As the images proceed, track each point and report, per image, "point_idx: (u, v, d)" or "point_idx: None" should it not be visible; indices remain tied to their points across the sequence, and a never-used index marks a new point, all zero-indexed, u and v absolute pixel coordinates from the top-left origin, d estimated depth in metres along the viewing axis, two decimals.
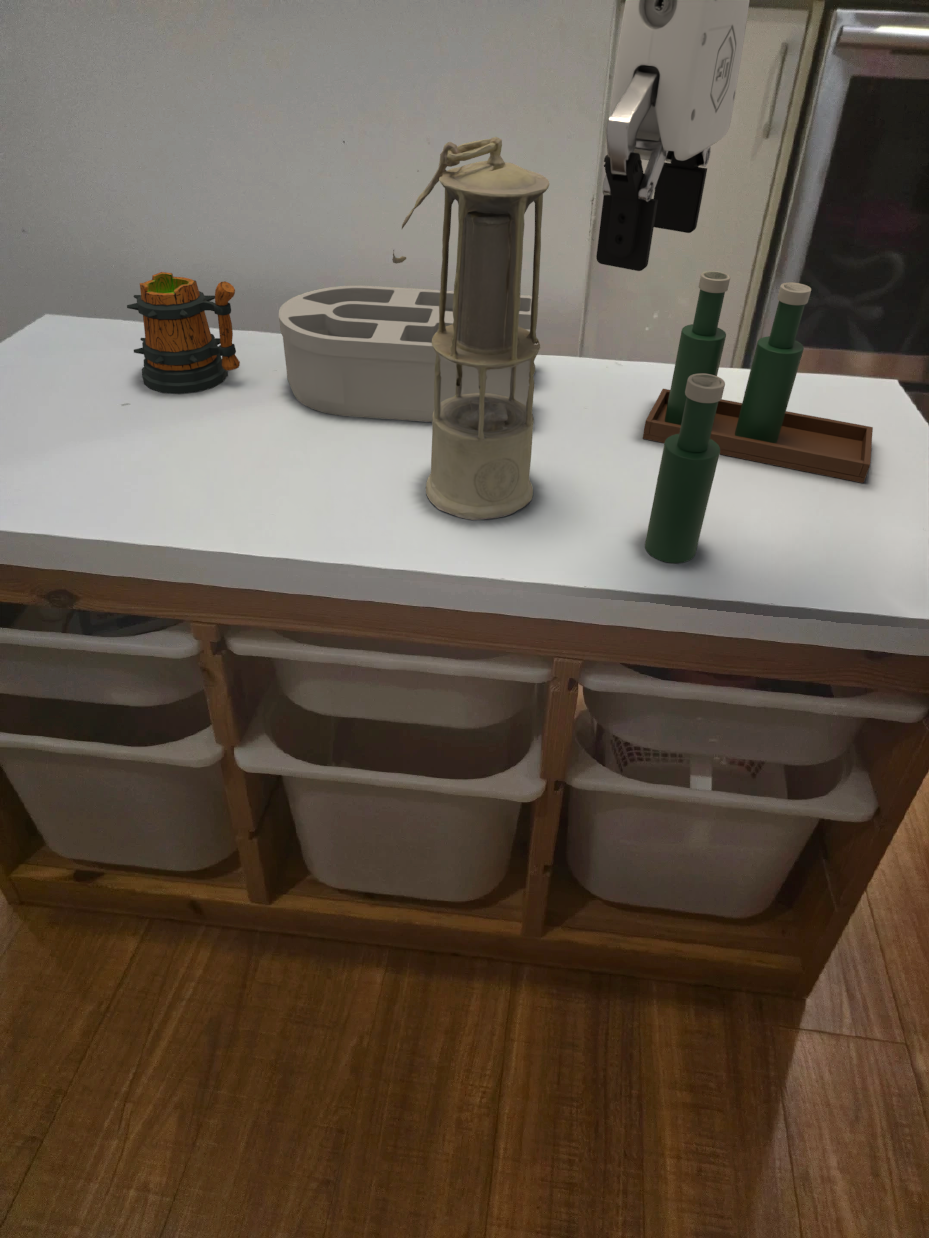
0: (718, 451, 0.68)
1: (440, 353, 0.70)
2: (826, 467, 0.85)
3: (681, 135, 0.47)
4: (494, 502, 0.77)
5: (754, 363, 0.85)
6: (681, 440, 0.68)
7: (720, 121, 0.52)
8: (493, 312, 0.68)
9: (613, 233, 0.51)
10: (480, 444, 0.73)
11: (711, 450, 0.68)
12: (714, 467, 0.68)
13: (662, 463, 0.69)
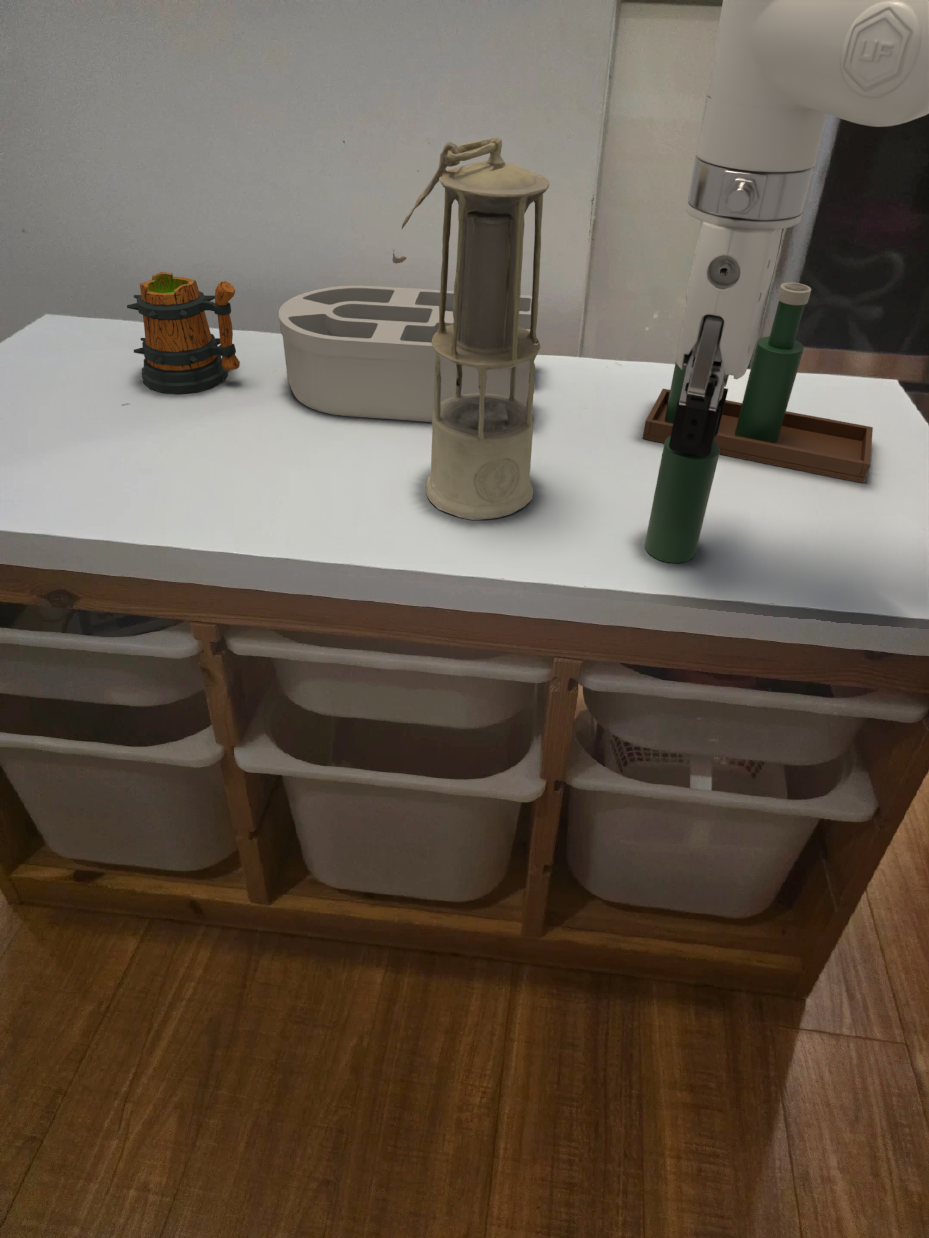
0: (718, 451, 0.68)
1: (440, 353, 0.70)
2: (826, 467, 0.85)
3: (740, 364, 0.59)
4: (494, 502, 0.77)
5: (754, 363, 0.85)
6: None
7: (757, 335, 0.63)
8: (493, 312, 0.68)
9: (686, 431, 0.65)
10: (480, 444, 0.73)
11: (711, 450, 0.68)
12: (714, 467, 0.68)
13: (662, 463, 0.69)
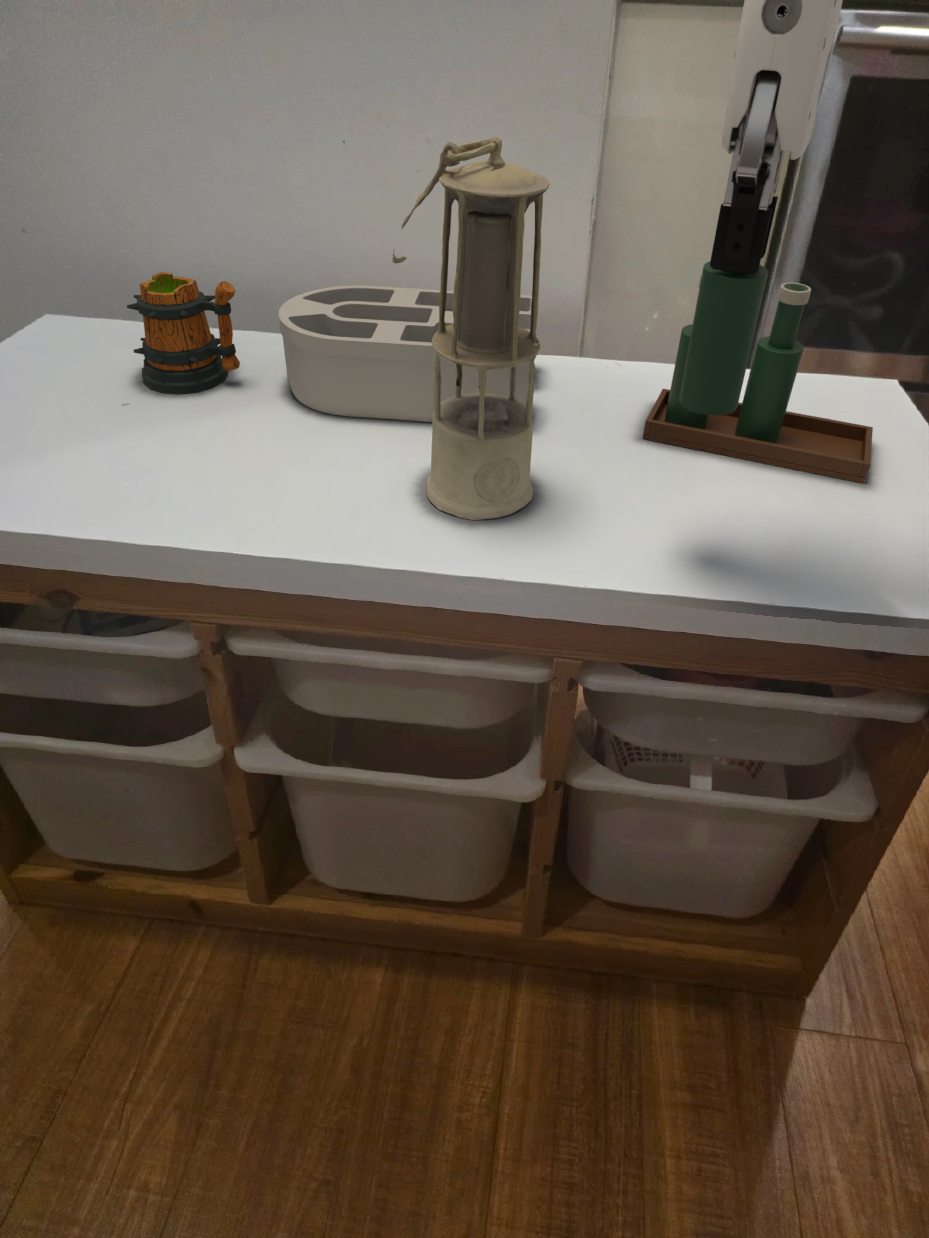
0: (766, 272, 0.59)
1: (440, 353, 0.70)
2: (826, 467, 0.85)
3: (799, 135, 0.50)
4: (494, 502, 0.77)
5: (754, 363, 0.85)
6: None
7: (814, 121, 0.54)
8: (493, 312, 0.68)
9: (731, 240, 0.56)
10: (480, 444, 0.73)
11: (757, 271, 0.59)
12: (761, 292, 0.59)
13: (701, 291, 0.60)
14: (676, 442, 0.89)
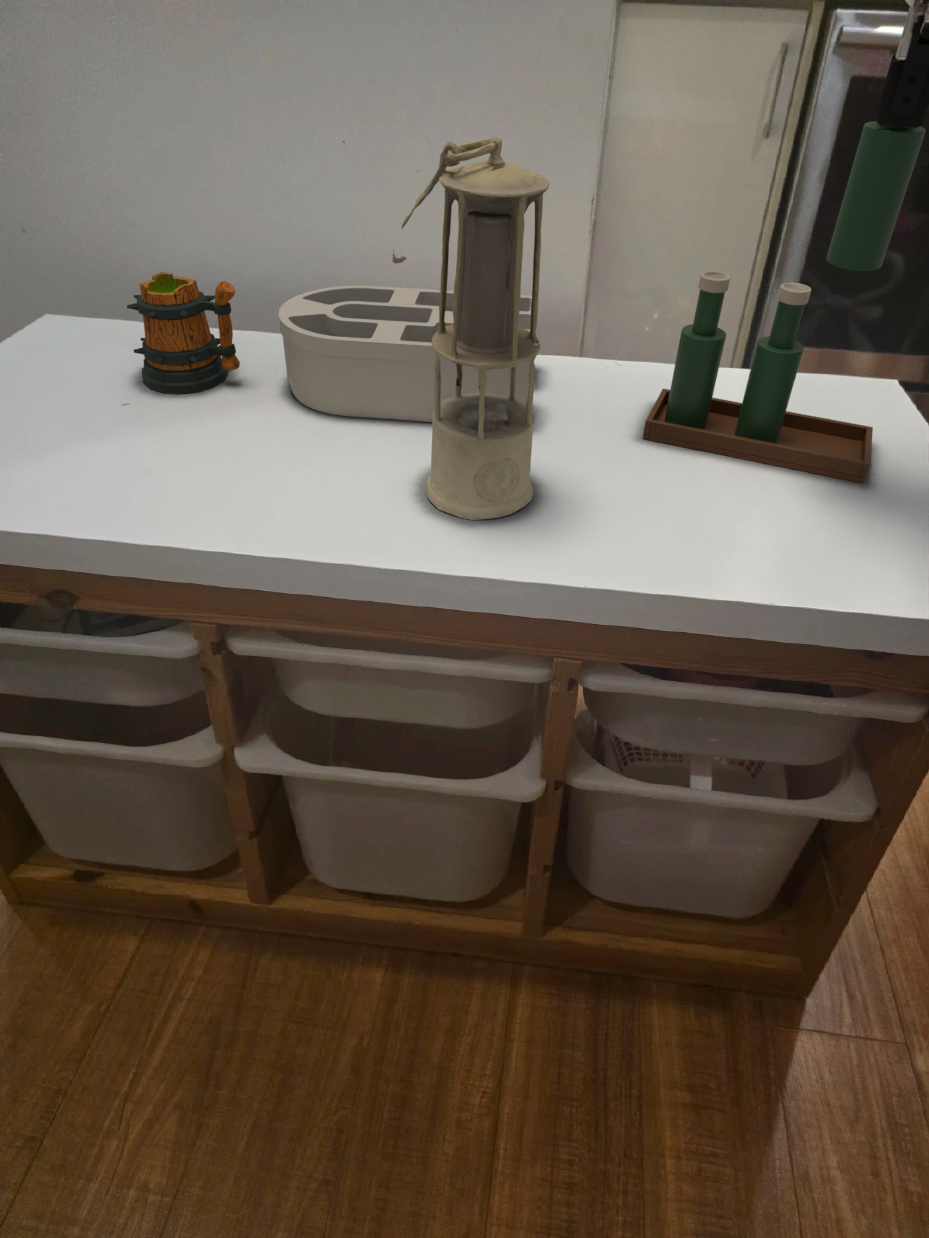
0: (924, 129, 0.65)
1: (440, 353, 0.70)
2: (826, 467, 0.85)
3: None
4: (494, 502, 0.77)
5: (754, 363, 0.85)
6: None
7: None
8: (493, 312, 0.68)
9: (901, 94, 0.62)
10: (480, 444, 0.73)
11: (916, 128, 0.65)
12: (919, 148, 0.65)
13: (861, 149, 0.66)
14: (676, 442, 0.89)
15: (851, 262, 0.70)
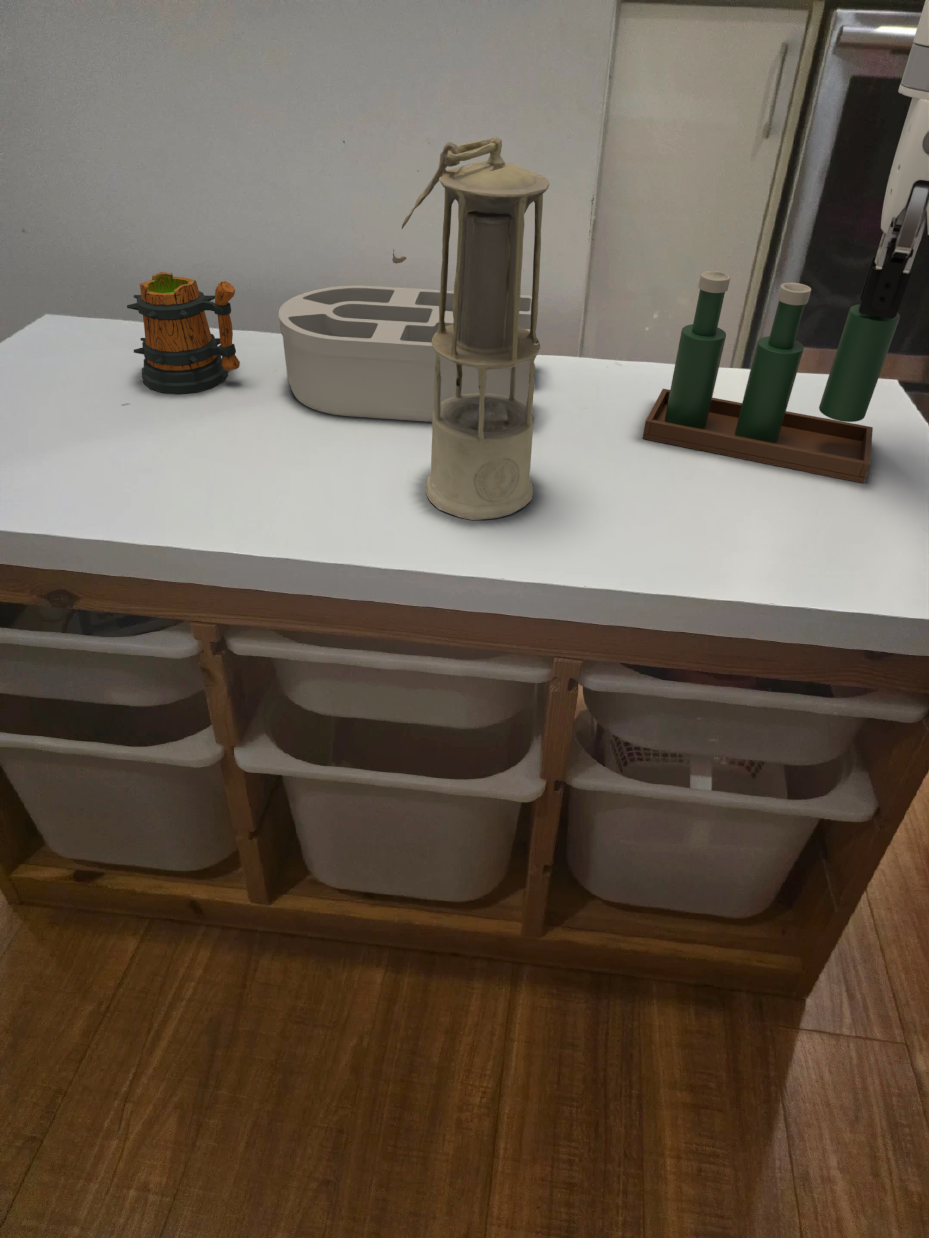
0: (898, 316, 0.79)
1: (440, 353, 0.70)
2: (826, 467, 0.85)
3: None
4: (494, 502, 0.77)
5: (754, 363, 0.85)
6: None
7: None
8: (493, 312, 0.68)
9: (879, 294, 0.76)
10: (480, 444, 0.73)
11: None
12: (894, 330, 0.79)
13: (847, 328, 0.80)
14: (676, 442, 0.89)
15: (839, 415, 0.84)
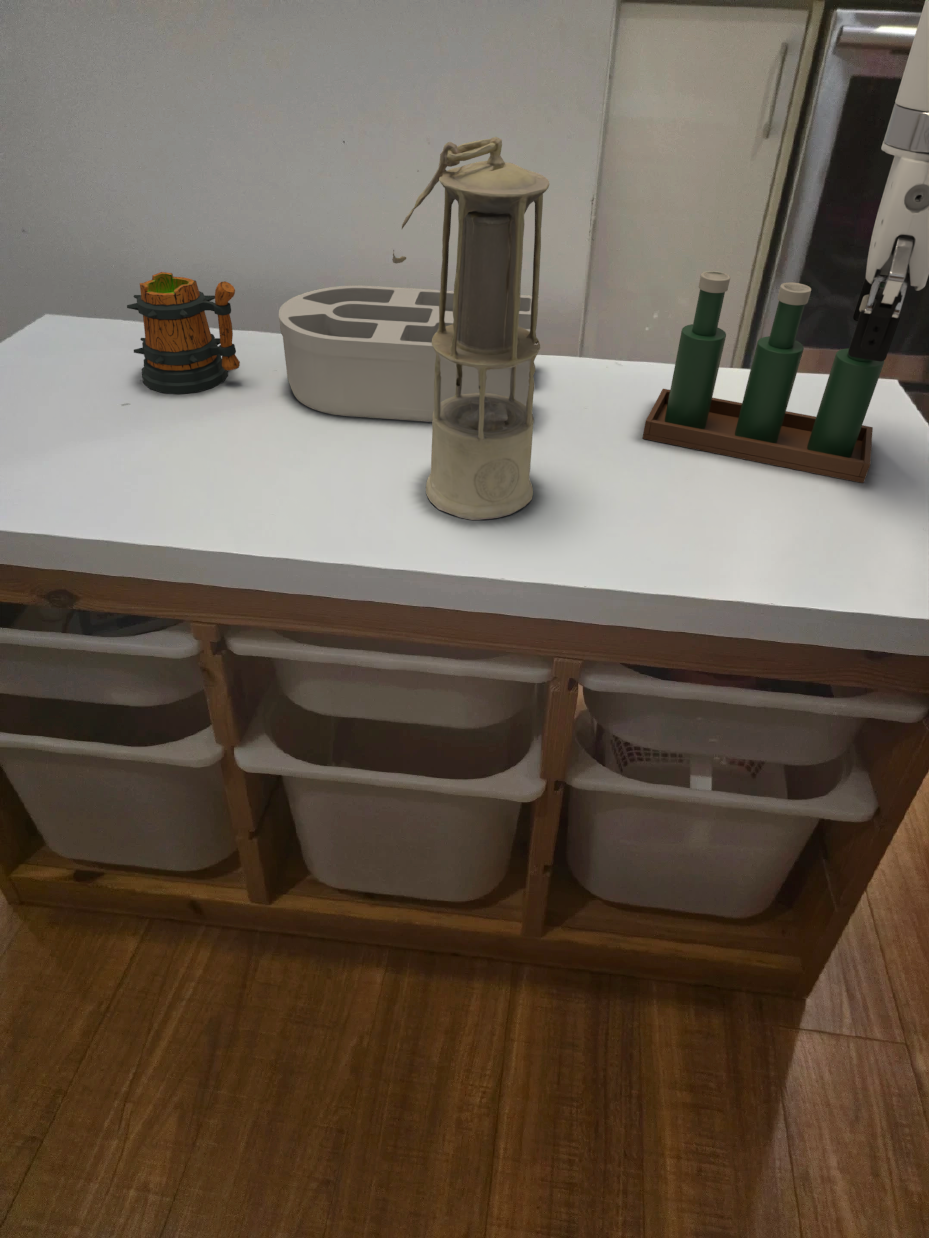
0: (883, 361, 0.81)
1: (440, 353, 0.70)
2: (826, 467, 0.85)
3: (924, 277, 0.72)
4: (494, 502, 0.77)
5: (754, 363, 0.85)
6: None
7: None
8: (493, 312, 0.68)
9: (868, 338, 0.75)
10: (480, 444, 0.73)
11: None
12: (879, 374, 0.82)
13: (833, 372, 0.83)
14: (676, 442, 0.89)
15: None
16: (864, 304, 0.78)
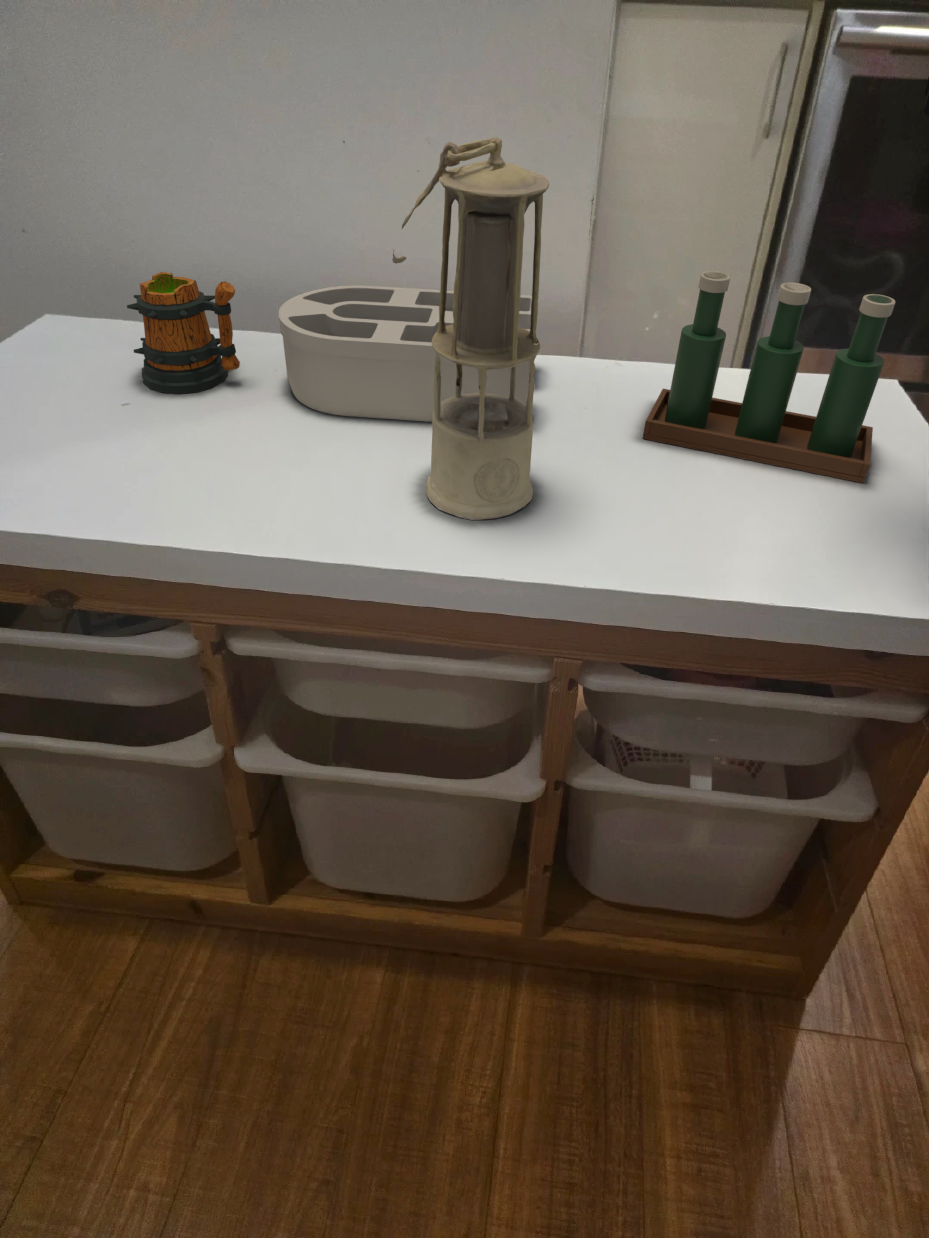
0: (883, 361, 0.81)
1: (440, 353, 0.70)
2: (826, 467, 0.85)
3: None
4: (494, 502, 0.77)
5: (754, 363, 0.85)
6: (852, 351, 0.81)
7: None
8: (493, 312, 0.68)
9: None
10: (480, 444, 0.73)
11: (876, 360, 0.81)
12: (879, 374, 0.82)
13: (833, 372, 0.83)
14: (676, 442, 0.89)
15: None
16: (864, 304, 0.78)
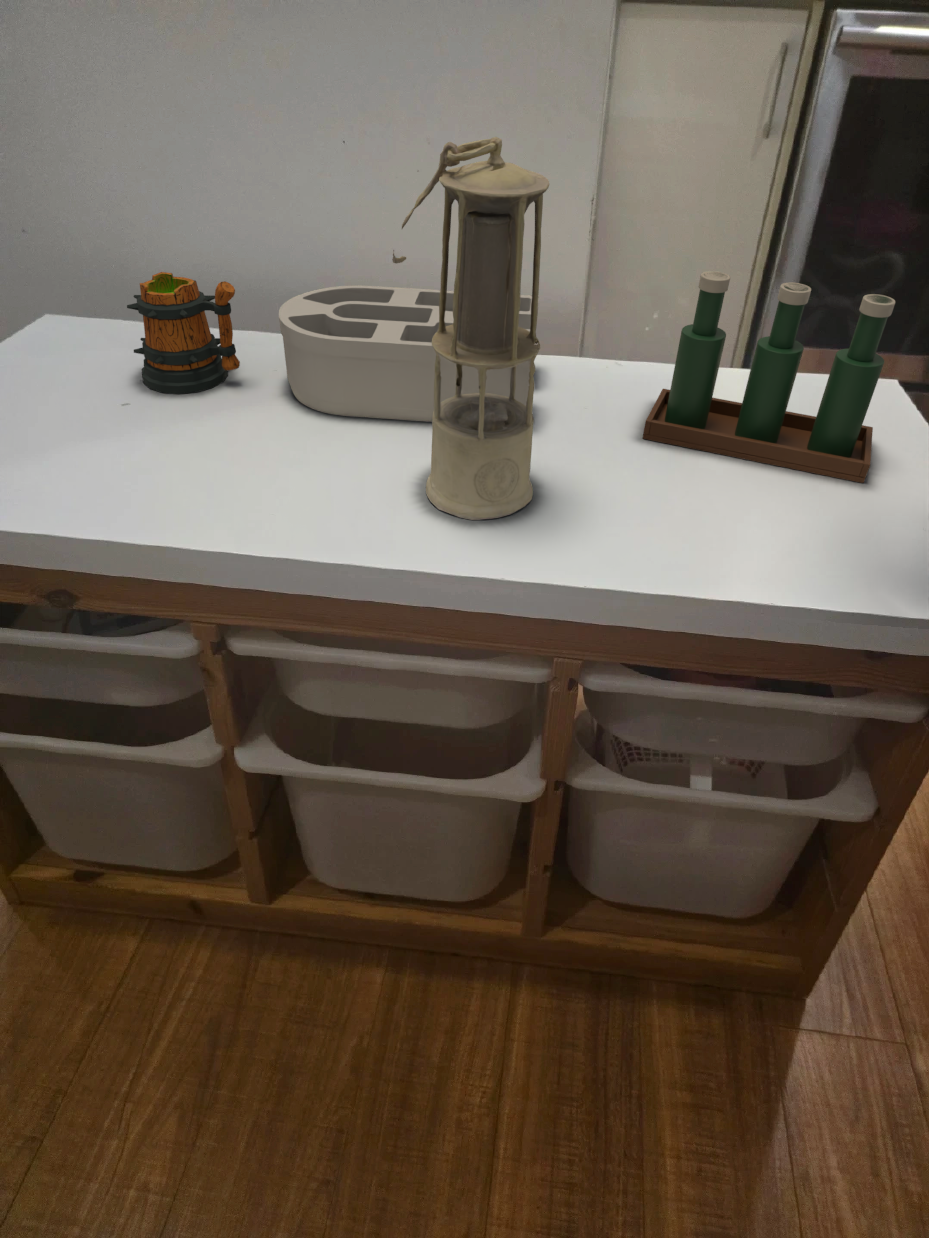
0: (883, 361, 0.81)
1: (440, 353, 0.70)
2: (826, 467, 0.85)
3: None
4: (494, 502, 0.77)
5: (754, 363, 0.85)
6: (852, 351, 0.81)
7: None
8: (493, 312, 0.68)
9: None
10: (480, 444, 0.73)
11: (876, 360, 0.81)
12: (879, 374, 0.82)
13: (833, 372, 0.83)
14: (676, 442, 0.89)
15: None
16: (864, 304, 0.78)
